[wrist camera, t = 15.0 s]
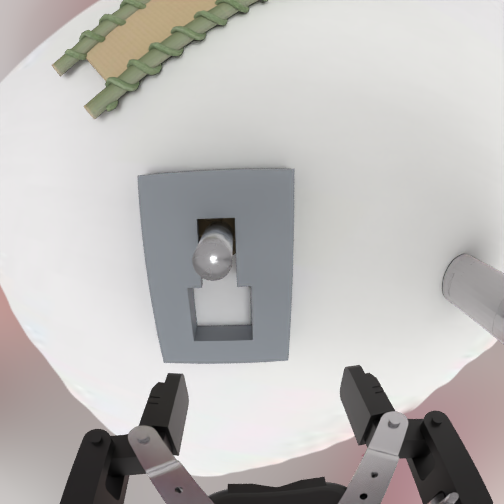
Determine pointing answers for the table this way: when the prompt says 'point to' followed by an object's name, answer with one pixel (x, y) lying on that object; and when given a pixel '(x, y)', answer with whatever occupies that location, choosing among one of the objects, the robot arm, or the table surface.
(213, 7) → the stretcher
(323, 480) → the robot arm
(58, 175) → the table surface
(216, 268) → the steel peg
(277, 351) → the keyhole plate
